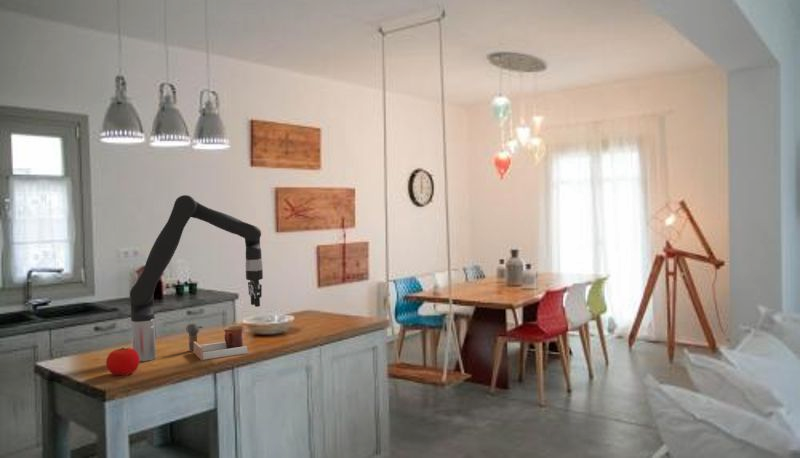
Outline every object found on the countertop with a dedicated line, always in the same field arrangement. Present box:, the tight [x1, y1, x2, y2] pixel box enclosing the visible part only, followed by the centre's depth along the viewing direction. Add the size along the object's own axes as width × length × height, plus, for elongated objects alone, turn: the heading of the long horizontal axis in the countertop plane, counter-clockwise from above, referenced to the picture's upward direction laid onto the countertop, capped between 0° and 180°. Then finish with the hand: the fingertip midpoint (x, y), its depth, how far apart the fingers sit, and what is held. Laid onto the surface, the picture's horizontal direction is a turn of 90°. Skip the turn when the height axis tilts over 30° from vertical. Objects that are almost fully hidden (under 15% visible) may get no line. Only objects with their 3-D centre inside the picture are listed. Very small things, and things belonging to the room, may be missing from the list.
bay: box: [193, 341, 249, 361], centre depth 265 cm, size 20×16×5 cm
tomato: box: [105, 347, 141, 376], centre depth 234 cm, size 11×12×10 cm
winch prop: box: [185, 322, 203, 353], centre depth 271 cm, size 7×4×12 cm, turn 120°
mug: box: [223, 325, 245, 349], centre depth 268 cm, size 12×9×10 cm
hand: (255, 305), depth 273 cm, fingers open, 5 cm apart
